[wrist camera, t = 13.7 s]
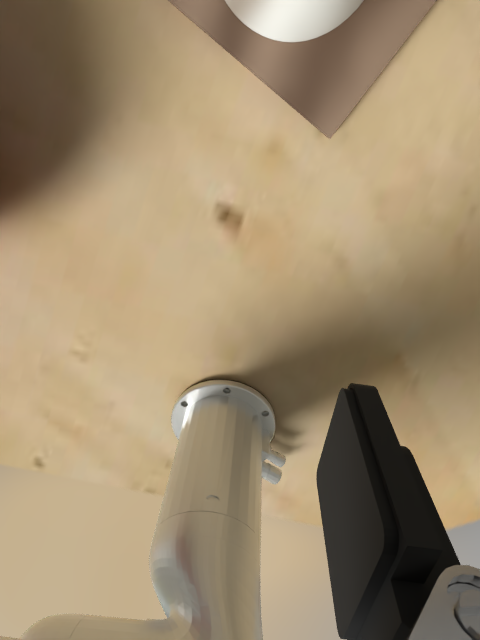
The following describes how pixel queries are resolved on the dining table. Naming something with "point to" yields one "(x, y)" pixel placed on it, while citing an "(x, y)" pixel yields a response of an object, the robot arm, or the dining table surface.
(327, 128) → the walnut board
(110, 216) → the dining table surface
